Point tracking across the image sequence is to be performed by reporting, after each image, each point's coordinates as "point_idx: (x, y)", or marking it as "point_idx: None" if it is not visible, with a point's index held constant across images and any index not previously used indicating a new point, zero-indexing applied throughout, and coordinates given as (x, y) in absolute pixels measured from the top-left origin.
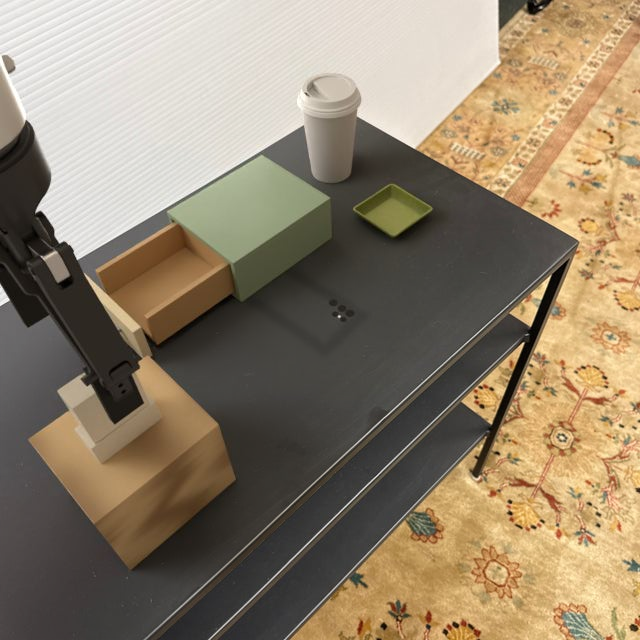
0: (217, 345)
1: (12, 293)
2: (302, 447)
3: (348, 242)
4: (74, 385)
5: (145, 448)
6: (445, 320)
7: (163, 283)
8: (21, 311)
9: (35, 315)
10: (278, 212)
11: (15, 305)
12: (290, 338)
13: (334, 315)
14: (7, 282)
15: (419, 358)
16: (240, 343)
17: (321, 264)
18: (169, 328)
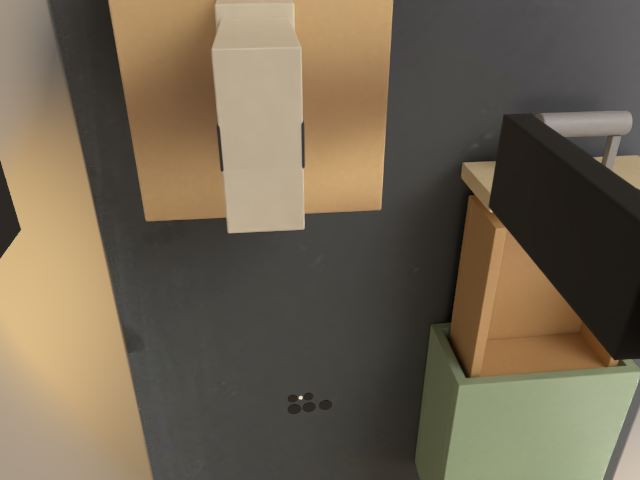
0: (397, 257)
1: (580, 192)
2: (155, 243)
3: (390, 470)
4: (282, 93)
5: (190, 89)
6: (194, 475)
7: None
8: (535, 149)
9: (508, 162)
10: (479, 476)
11: (553, 157)
12: (322, 335)
13: (307, 394)
14: (612, 225)
15: (168, 424)
16: (372, 282)
17: (390, 429)
18: (471, 230)
